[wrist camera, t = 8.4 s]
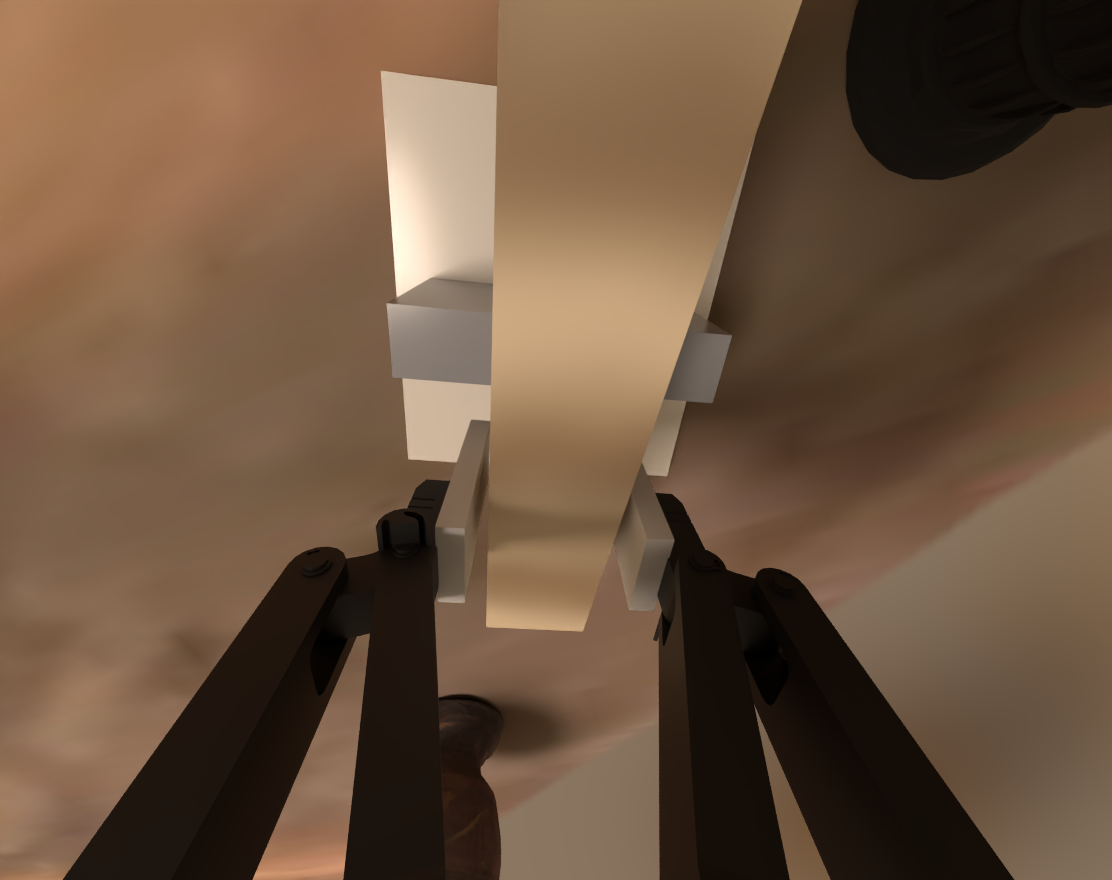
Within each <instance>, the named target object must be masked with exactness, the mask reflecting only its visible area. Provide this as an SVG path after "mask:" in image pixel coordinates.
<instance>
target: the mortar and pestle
mask: <svg viewBox="0 0 1112 880" xmlns="http://www.w3.org/2000/svg"><path fill="white" fill-rule="evenodd" d="M438 701H439V724H440V747H441V770H442V793H443V816H444V838H445V861H446V880H499V876H500V868H501V839H500V829H499V821H498V813H497V806H496V800H495V796H494V793H493V791H492V790H491V788H490V786H489V785H488V783H487V782H486V781H485V779H484V778H483V777H482V775H481V769H480V768H481V766H482V765H483V764H484V762H485V760H487V759H488V758H490V757H491V756H492V754H493V752H494V750H495V749H496V747H497V745H498V742H499V740H500V737H501V732H502V729H503V719H502V717H501V715H500V714H499V713H498V712H497V711H496V710H494V709H493V708H491V707H489V706H488V705H486V704H485V703H482V702H478V701H471V700H464V699H449V700H438Z"/></svg>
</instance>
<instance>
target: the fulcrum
mask: <svg viewBox="0 0 1112 880" xmlns="http://www.w3.org/2000/svg"><path fill="white" fill-rule="evenodd" d="M381 81H382V95H383V109H384V123H385V137H386V151H387V165H388V179H389V193H390V207H391V221H392V235H393V249H394V264H395V278H396V292H397V298H395V299H393V300H392V301H390V302H388V303H387V312H388V324H389V337H390V349H391V361H392V373H393V378H403V390H404V404H405V418H406V432H407V446H408V459H414V460H429V461H444V462H457V460H458V457H459V454H460V451H461V448H462V445H463V442H464V439H465V436H466V433H467V430H468V427H469V424H470V421H471V419H472V420H485V421H490V413H491V362H492V311H493V259H494V208H495V157H496V106H497V86H490V85H483V84H476V83H468V82H461V81H453V80H446V79H438V78H431V77H423V76H416V75H408V74H401V73H393V72H386V71H381ZM754 139H755V138H754ZM753 143H754V141H753ZM752 147H753V144H752V146H751V149H750V152H749V155H748V158H747V161H746V164H745V167H744V169H743V172H742V175H741V178H740V181H739V184H738V187H737V189H736V192H735V195H734V198H733V201H732V204H731V207H730V210H729V212H728V215H727V218H726V221H725V224H724V227H723V230H722V233H721V235H720V238H719V241H718V244H717V247H716V250H715V253H714V256H713V258H712V261H711V264H710V267H709V270H708V273H707V276H706V279H705V281H704V284H703V287H702V290H701V293H700V296H699V299H698V302H697V304H696V307H695V310H694V313H693V316H692V319H691V322H690V325H689V327H688V330H687V333H686V336H685V339H684V342H683V345H682V348H681V350H680V353H679V356H678V359H677V362H676V365H675V368H674V371H673V373H672V376H671V379H670V382H669V385H668V388H667V391H666V394H665V396H664V399H663V402H662V405H661V408H660V411H659V414H658V417H657V419H656V422H655V425H654V428H653V431H652V434H651V437H650V440H649V442H648V445H647V448H646V451H645V454H644V457H643V460H642V463H643V466H644V468H645V470H646V473H647V475H654V476H667V474H668V470H669V466H670V463H671V459H672V455H673V451H674V447H675V443H676V440H677V436H678V432H679V428H680V424H681V420H682V416H683V413H684V409H685V405H686V401H689V402H702V403H713V400H714V397H715V393H716V390H717V386H718V383H719V379H720V376H721V373H722V369H723V366H724V362H725V359H726V355H727V352H728V348H729V345H730V342H731V338H732V335H731V334H729V333H727V332H726V331H724V330H723V329H721V328H719V327H718V326H716V325H715V324H713V323H711V322H710V321H708V316H709V312H710V309H711V305H712V301H713V297H714V293H715V289H716V285H717V282H718V278H719V274H720V270H721V266H722V262H723V259H724V255H725V251H726V247H727V243H728V239H729V235H730V232H731V228H732V224H733V220H734V216H735V212H736V208H737V205H738V201H739V197H740V193H741V189H742V185H743V181H744V178H745V174H746V170H747V166H748V162H749V158H750V155H751V151H752ZM489 464H490V452H489Z"/></svg>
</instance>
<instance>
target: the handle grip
mask: <svg viewBox="0 0 1112 880" xmlns="http://www.w3.org/2000/svg"><path fill="white" fill-rule="evenodd" d="M846 92H847V97H848V102H849V106H850V111H851V115H852V120H853V125H854V127H855V129H856V131H857V132H858V134H859V136H860V138H861V140H862V141H863V143H864V145H865V147H866V148H867V150H868V152H869V153H870V154H871V155H873V156H874V157H875V158H876V159H877V160H878V161H879V162H881V163H882V164H883V165H884V166H885V167H886V168H887V169H888V170H890V171H893V172H896V173H898V174H901V175H904V176H907V177H909V178H912V179H933V180H943V179H947V178H951V177H955V176H959V175H963V174H967V173H971V172H973V171H975V170H977V169H979V168H981V167H983V166H985V165H987V164H989V163H990V162H992V161H994V160H996V159H998V158H1000V157H1002V156H1004V155H1006V154H1008V153H1010V152H1012V151H1013V150H1014V149H1016V148H1017V147H1018V146H1019V145H1021V144H1022V143H1023V142H1025V141H1026V140H1027V139H1029V138H1030V137H1031V136H1033V135H1034V134H1035V133H1037V132H1038V131H1039V130H1041V129H1042V128H1043V127H1044V126H1045V125H1046V124H1047V123H1048V121H1049V120H1050V119H1051V118H1052V117H1053V116H1054V115H1055V114H1059V113H1064V112H1069V111H1071V110H1074V109H1076V108H1078V107H1079V108H1100V107H1104V106H1108V105H1112V0H859V3H858V5H857V8H856V11H855V16H854V21H853V26H852V31H851V35H850V40H849V45H848V50H847V84H846Z"/></svg>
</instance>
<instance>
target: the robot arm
mask: <svg viewBox="0 0 1112 880" xmlns="http://www.w3.org/2000/svg"><path fill="white" fill-rule="evenodd" d="M489 452H490V421H485V420H472V419H471V421H470V424H469V427H468V430H467V433H466V436H465V439H464V442H463V445H462V448H461V451H460V454H459V457H458V460H457V463H456V466H455V469H454V472H453V475H452V478H451V481H441V480H425V481H424V482H423V483H422V484H420V485H419V486H418V487H417V488H416V490H415V492H414V494H413V496H412V500H411V501H410V503H409V505H408V508H407V509H399V510H394V511H392V512H390V513H388V514H385V515H384V516H383V517H382V518H381V519H380V520H379V521H378V523H377V525H376V531H377V540H378V548H379V551H377V552H375V553H372V554H368V555H365V556H359V557H354V558H348V559H346V558H345V555H344V553H343V552H342V551H340V550H339V549H337V548H332V547H317V548H314V549H311V550H307V551H305V552H303V553H301V554H300V555H298V556H296V557H295V558H294V559H293V560H292V561H291V562H290V563H289V564H288V565H287V567H286V568H285V569H284V571H283V572H282V574H281V575H280V576H279V578H278V579H277V581H276V582H275V583H274V585H273V586H272V588H271V589H270V590H269V592H268V593H267V595H266V596H265V597H264V599H263V600H262V602H261V603H260V604H259V606H258V607H257V609H256V610H255V611H254V613H253V614H252V616H251V617H250V618H249V620H248V621H247V623H246V624H245V625H244V627H243V628H242V630H241V631H240V632H239V634H238V635H237V637H236V638H235V639H234V641H233V642H232V644H231V645H230V646H229V648H228V649H227V651H226V652H225V653H224V655H223V656H222V658H221V659H220V660H219V662H218V663H217V665H216V666H215V667H214V669H213V670H212V672H211V673H210V674H209V676H208V677H207V679H206V680H205V681H204V683H203V684H202V686H201V687H200V688H199V690H198V691H197V693H196V694H195V695H194V697H193V698H192V700H191V701H190V702H189V704H188V705H187V707H186V708H185V709H184V711H183V712H182V714H181V715H180V716H179V718H178V719H177V721H176V722H175V723H174V725H173V726H172V728H171V729H170V730H169V732H168V733H167V735H166V736H165V737H164V739H163V740H162V742H161V743H160V744H159V746H158V747H157V749H156V750H155V751H154V753H153V754H152V755H151V757H150V758H149V760H148V761H147V762H146V764H145V765H144V767H143V768H142V769H141V771H140V772H139V774H138V775H137V776H136V778H135V779H134V781H133V782H132V783H131V785H130V786H129V788H128V789H127V790H126V792H125V793H124V795H123V796H122V797H121V799H120V800H119V802H118V803H117V804H116V806H115V807H114V809H113V810H112V811H111V813H110V814H109V816H108V817H107V818H106V820H105V821H104V823H103V824H102V825H101V827H100V828H99V830H98V831H97V832H96V834H95V835H94V837H93V838H92V839H91V841H90V842H89V844H88V845H87V846H86V848H85V849H84V851H83V852H82V853H81V855H80V856H79V858H78V859H77V860H76V862H75V863H74V865H73V866H72V867H71V869H70V870H69V872H68V873H67V874H66V876H65V877H64V879H63V880H252V879H253V877H254V875H255V872H256V870H257V868H258V865H259V863H260V861H261V858H262V856H263V854H264V851H265V849H266V847H267V844H268V842H269V840H270V837H271V835H272V833H273V830H274V828H275V826H276V823H277V821H278V819H279V816H280V814H281V812H282V809H283V807H284V805H285V803H286V800H287V798H288V796H289V793H290V791H291V789H292V786H293V784H294V782H295V779H296V777H297V775H298V772H299V770H300V768H301V765H302V763H303V761H304V758H305V756H306V754H307V751H308V749H309V747H310V744H311V742H312V740H313V737H314V735H315V733H316V730H317V728H318V726H319V723H320V721H321V719H322V716H323V714H324V712H325V709H326V707H327V705H328V702H329V700H330V698H331V695H332V693H333V691H334V688H335V686H336V684H337V681H338V679H339V677H340V674H341V672H342V670H343V667H344V665H345V663H346V660H347V658H348V656H349V653H350V651H351V649H352V646H353V644H354V642H355V639H356V637H357V636H361V635H365V634H369V633H370V639H369V648H368V657H367V667H366V676H365V685H364V694H363V703H362V713H361V722H360V731H359V740H358V750H357V759H356V768H355V777H354V787H353V796H352V805H351V814H350V824H349V833H348V842H347V851H346V861H345V870H344V879H343V880H446V861H445V838H444V816H443V793H442V770H441V747H440V724H439V701H438V679H437V656H436V633H435V610H434V602H435V598H436V595H437V591H438V602H451V603H465V599H466V594H467V588H468V583H469V578H470V573H471V568H472V563H473V557H474V552H475V547H476V542H477V537H478V532H479V526H480V521H481V516H482V511H483V506H484V501H485V495H486V490H487V485H488V480H489ZM614 546H615V551H616V555H617V559H618V564H619V568H620V572H621V577H622V581H623V586H624V590H625V594H626V599H627V603H628V608H629V610H643V611H654V609H655V606H656V602H657V599H659V602H660V605H661V608H662V612H661V615H660V619H659V622H658V625H657V629H656V632H655V635H654V639H653V640H655V641H657V640H658V636H659V820H660V821H659V840H660V842H659V844H660V845H659V846H660V880H790V879H789V874H788V870H787V864H786V859H785V854H784V849H783V844H782V839H781V835H780V830H779V825H778V820H777V815H776V810H775V805H774V801H773V795H772V790H771V786H770V782H769V776H768V771H767V766H766V761H765V756H764V751H763V747H762V741H761V736H760V732H759V727H758V722H757V717H756V712H755V707H756V709H757V711H758V714H759V716H760V719H761V721H762V723H763V725H764V728H765V730H766V732H767V735H768V737H769V739H770V741H771V744H772V746H773V748H774V751H775V753H776V755H777V758H778V760H779V762H780V764H781V767H782V769H783V771H784V774H785V776H786V778H787V780H788V783H789V785H790V787H791V790H792V792H793V794H794V796H795V799H796V801H797V803H798V806H799V808H800V810H801V812H802V815H803V817H804V819H805V822H806V824H807V826H808V829H809V831H810V833H811V836H812V838H813V840H814V842H815V845H816V847H817V849H818V852H819V854H820V856H821V859H822V861H823V863H824V865H825V868H826V870H827V872H828V875H829V877H830V879H831V880H1014V879H1013V877H1012V876H1011V875H1010V873H1009V872H1008V870H1007V869H1006V867H1005V866H1004V865H1003V863H1002V862H1001V860H1000V859H999V858H998V856H997V855H996V853H995V852H994V851H993V849H992V848H991V846H990V845H989V844H988V842H987V841H986V839H985V838H984V837H983V835H982V834H981V833H980V831H979V830H978V828H977V827H976V825H975V824H974V823H973V821H972V820H971V818H970V817H969V816H968V814H967V813H966V811H965V810H964V809H963V807H962V806H961V804H960V803H959V802H958V800H957V799H956V797H955V796H954V795H953V793H952V792H951V790H950V789H949V788H948V786H947V785H946V783H945V782H944V780H943V779H942V778H941V776H940V775H939V773H938V772H937V771H936V769H935V768H934V766H933V765H932V764H931V762H930V761H929V760H928V758H927V757H926V755H925V754H924V752H923V751H922V750H921V748H920V747H919V746H918V744H917V743H916V741H915V740H914V738H913V737H912V736H911V734H910V733H909V732H908V730H907V729H906V727H905V726H904V725H903V723H902V722H901V720H900V719H899V717H898V716H897V715H896V713H895V712H894V710H893V709H892V708H891V706H890V705H889V703H888V702H887V700H886V699H885V698H884V696H883V695H882V693H881V692H880V691H879V689H878V688H877V686H876V685H875V684H874V682H873V681H872V679H871V678H870V677H869V675H868V674H867V672H866V671H865V670H864V668H863V667H862V665H861V664H860V663H859V661H858V660H857V658H856V657H855V656H854V654H853V653H852V651H851V650H850V649H849V647H848V646H847V644H846V643H845V642H844V640H843V639H842V637H841V636H840V635H839V633H838V632H837V630H836V629H835V627H834V626H833V625H832V623H831V622H830V620H829V619H828V618H827V616H826V615H825V613H824V612H823V611H822V609H821V608H820V606H819V605H818V604H817V602H816V601H815V599H814V598H813V597H812V595H811V594H810V592H809V591H808V590H807V588H806V587H805V586H804V585H803V584H802V583H801V582H800V580H798V579H797V578H795V577H794V576H793V575H791V574H789V573H787V572H785V571H782V570H780V569H774V568H764V569H761V570H760V571H758V573H757V575H756V577H755V578H751V577H748V576H744V575H741V574H737V573H734V572H732V571H729V570H727V569H726V567H725V565H724V563H723V561H722V560H721V559H720V558H719V557H718V556H717V555H715V554H713V553H712V552H710V551H708V550H705V548H704V546H703V544H702V542H701V540H700V538H699V536H698V534H697V532H696V530H695V528H694V526H693V524H692V523H691V520H690V518H689V516H688V515H687V512H686V510H685V508H684V506H683V504H682V503H681V502H680V501H679V500H678V499H677V498H676V497H675V496H674V495H673V494H663V493H655V492H654V489H653V487H652V485H651V482H650V480H649V477H648V475H647V473H646V470H645V468H644V466H643V463H641V465H640V468H639V471H638V474H637V477H636V480H635V483H634V485H633V488H632V491H631V494H630V497H629V500H628V503H627V506H626V508H625V511H624V514H623V517H622V520H621V523H620V526H619V529H618V531H617V534H616V537H615V540H614ZM754 705H755V707H754Z"/></svg>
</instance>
